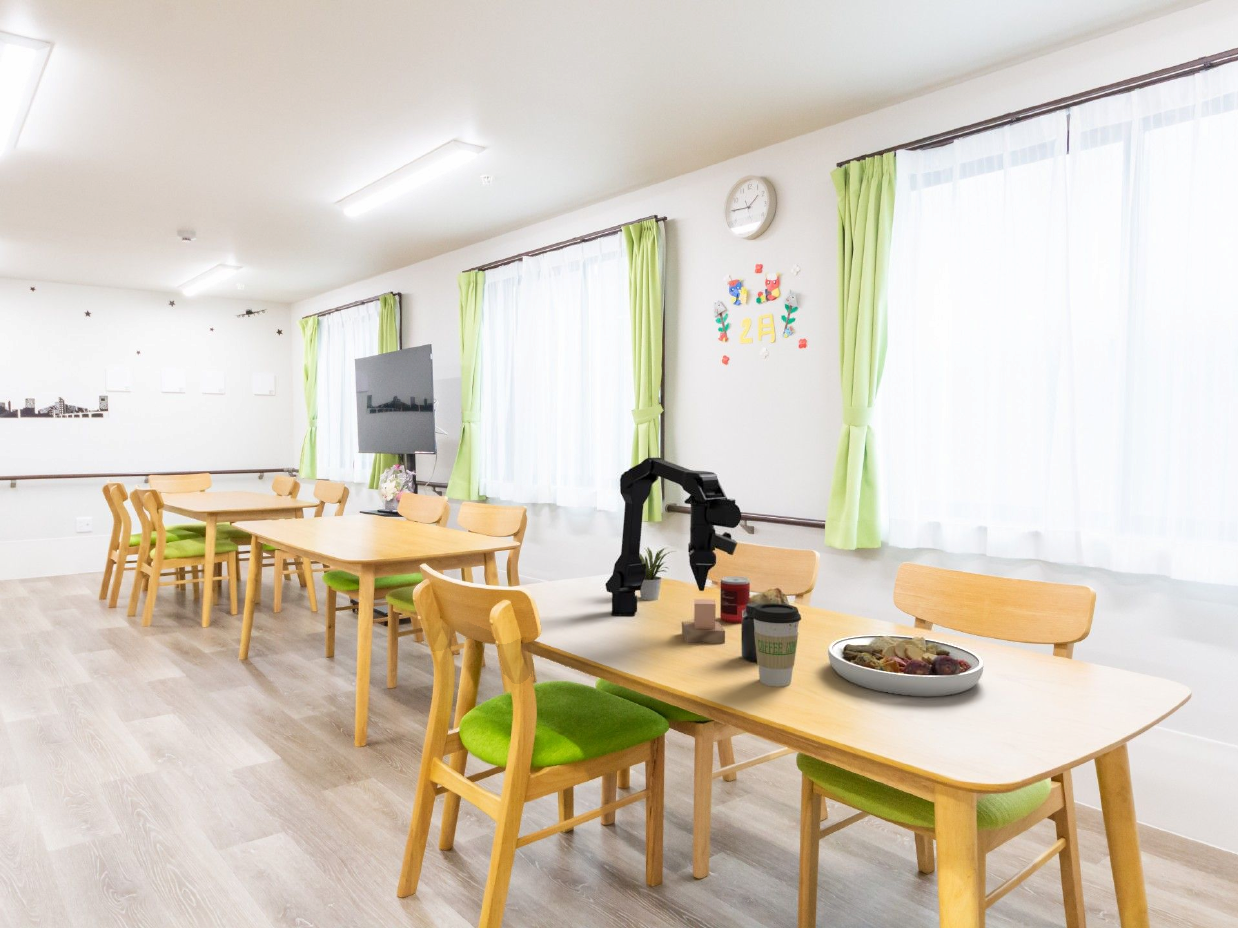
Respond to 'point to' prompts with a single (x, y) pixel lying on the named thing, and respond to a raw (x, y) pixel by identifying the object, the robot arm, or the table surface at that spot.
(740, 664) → the table surface
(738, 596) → the canned food
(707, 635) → the walnut box
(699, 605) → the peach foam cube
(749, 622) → the supplement bottle
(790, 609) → the coffee cup
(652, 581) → the house plant
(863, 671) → the bowl
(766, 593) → the pastry
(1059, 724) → the table surface
